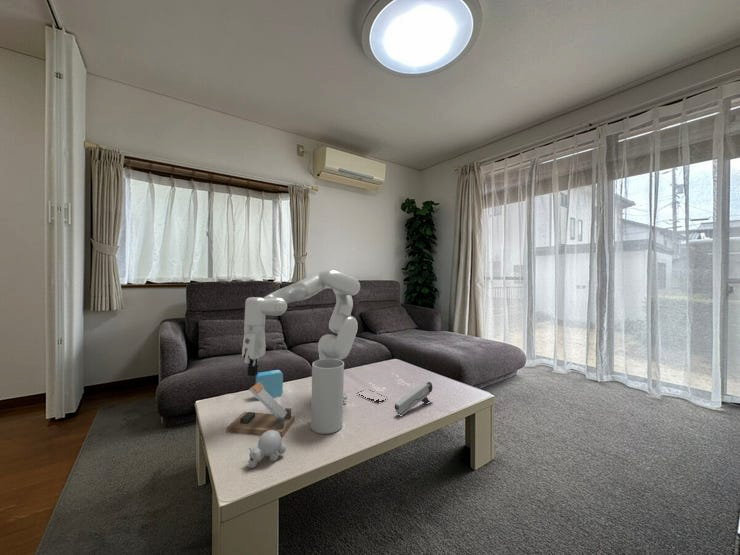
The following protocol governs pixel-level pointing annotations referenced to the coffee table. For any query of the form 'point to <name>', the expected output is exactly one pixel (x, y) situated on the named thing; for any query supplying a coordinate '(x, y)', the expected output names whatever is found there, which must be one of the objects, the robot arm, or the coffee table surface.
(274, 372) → the blue rounded block
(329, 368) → the cylinder vase
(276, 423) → the latch base
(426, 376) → the coffee table surface
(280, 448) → the chubby cartoon animal
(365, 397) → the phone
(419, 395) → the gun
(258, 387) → the latch lever
